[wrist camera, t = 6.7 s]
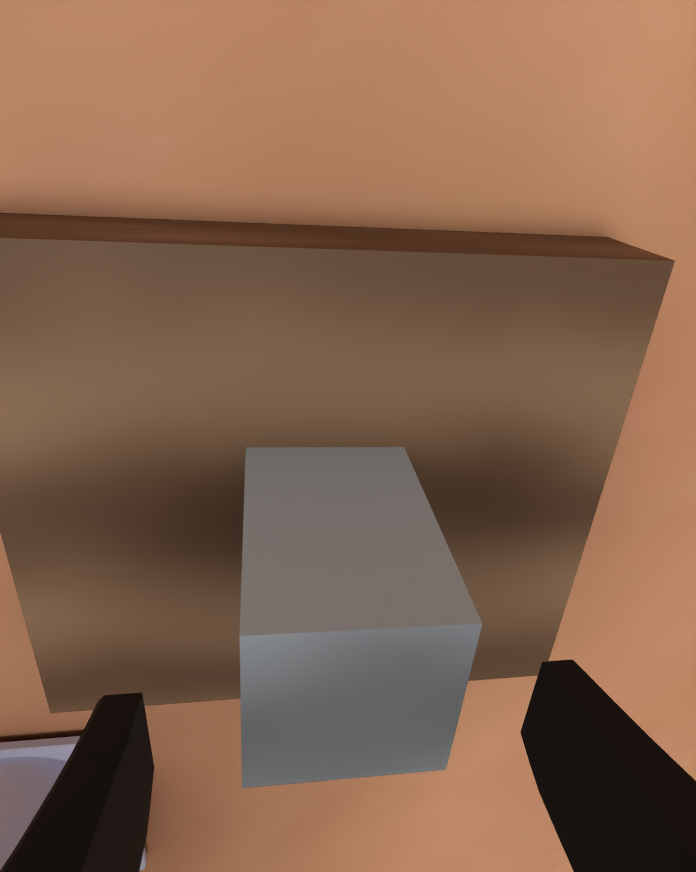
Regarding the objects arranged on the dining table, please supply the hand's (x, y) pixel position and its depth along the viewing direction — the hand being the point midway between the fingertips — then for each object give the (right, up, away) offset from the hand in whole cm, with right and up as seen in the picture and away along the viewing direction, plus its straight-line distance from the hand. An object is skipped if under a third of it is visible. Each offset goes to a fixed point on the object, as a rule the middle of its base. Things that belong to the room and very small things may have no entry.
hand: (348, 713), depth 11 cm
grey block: (-1, +3, +5) cm, 6 cm away
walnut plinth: (-1, +4, +8) cm, 9 cm away
